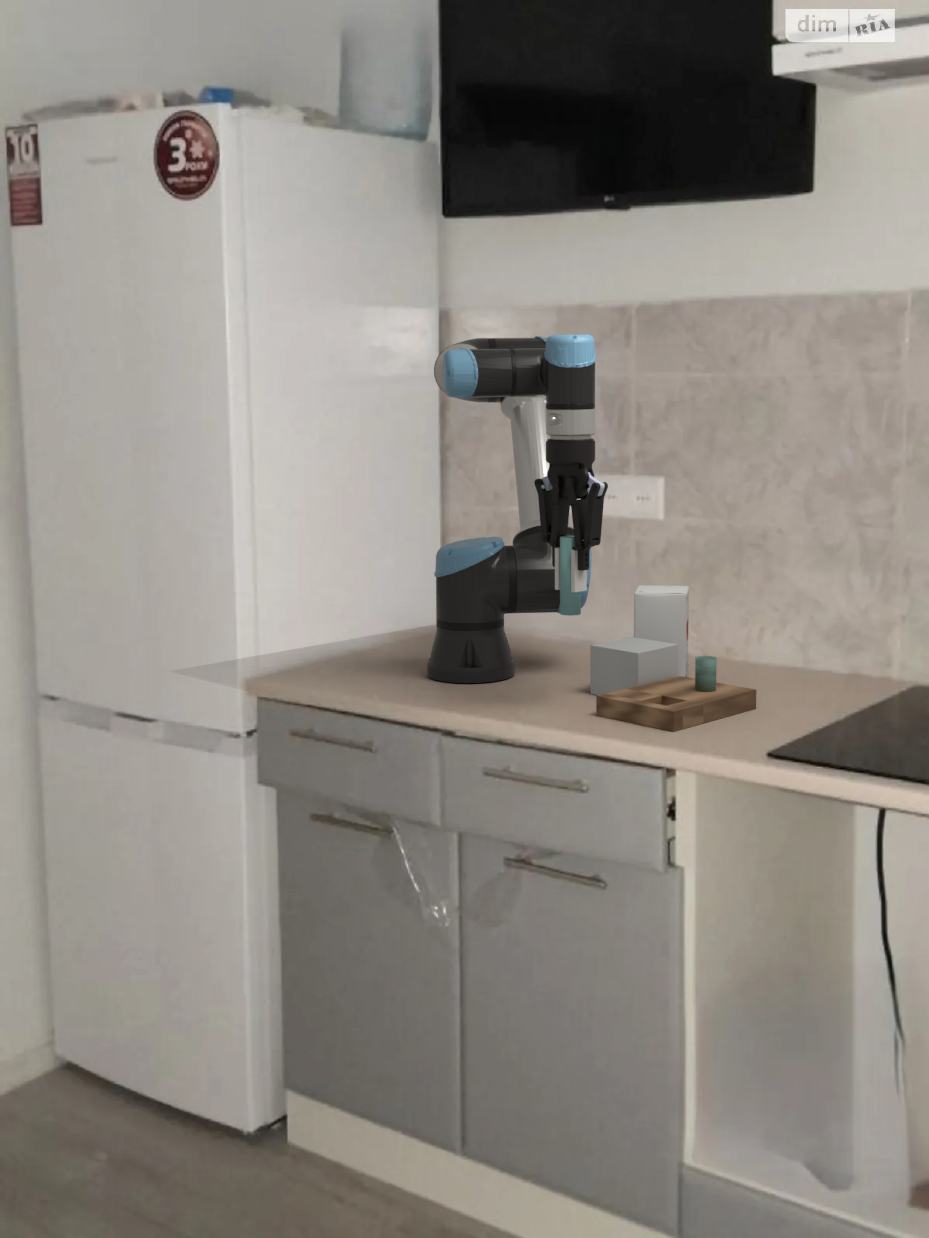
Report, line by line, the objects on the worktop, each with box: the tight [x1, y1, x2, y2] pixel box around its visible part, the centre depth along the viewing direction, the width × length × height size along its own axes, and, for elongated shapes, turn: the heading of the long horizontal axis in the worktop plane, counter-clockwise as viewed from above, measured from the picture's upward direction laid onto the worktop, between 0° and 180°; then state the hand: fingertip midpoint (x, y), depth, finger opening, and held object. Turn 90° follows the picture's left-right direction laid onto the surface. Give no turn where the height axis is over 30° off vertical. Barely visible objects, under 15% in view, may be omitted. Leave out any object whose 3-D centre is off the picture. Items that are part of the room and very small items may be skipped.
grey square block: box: [589, 636, 679, 696], centre depth 245 cm, size 10×10×8 cm
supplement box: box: [633, 584, 690, 677], centre depth 258 cm, size 9×9×15 cm
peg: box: [559, 536, 582, 617], centre depth 235 cm, size 3×3×12 cm
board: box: [595, 655, 757, 732], centre depth 232 cm, size 15×20×8 cm
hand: (570, 589), depth 236 cm, fingers closed on peg, 3 cm apart
